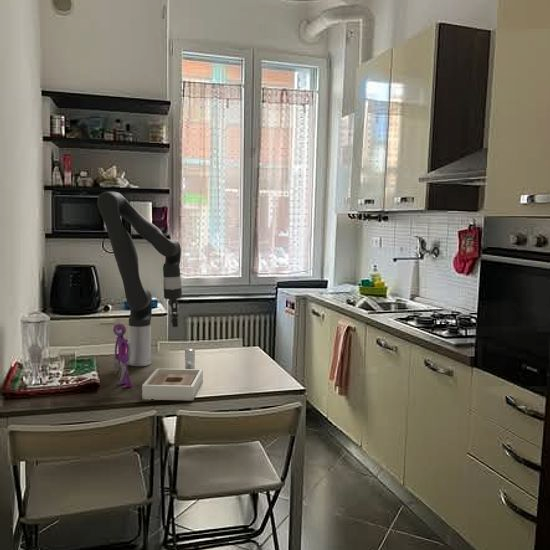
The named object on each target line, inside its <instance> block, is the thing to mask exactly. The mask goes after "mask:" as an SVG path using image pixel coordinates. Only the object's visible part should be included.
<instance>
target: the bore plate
mask: <svg viewBox="0 0 550 550" xmlns="http://www.w3.org/2000/svg"><path fill="white" fill-rule="evenodd" d="M195 378H196V375H186V374H159V375H158V377H157V378H156V379H155V380H154V381H153V383H152V384H151V385H180V386H191V384H192V383H193V381H194V379H195Z"/></svg>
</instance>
